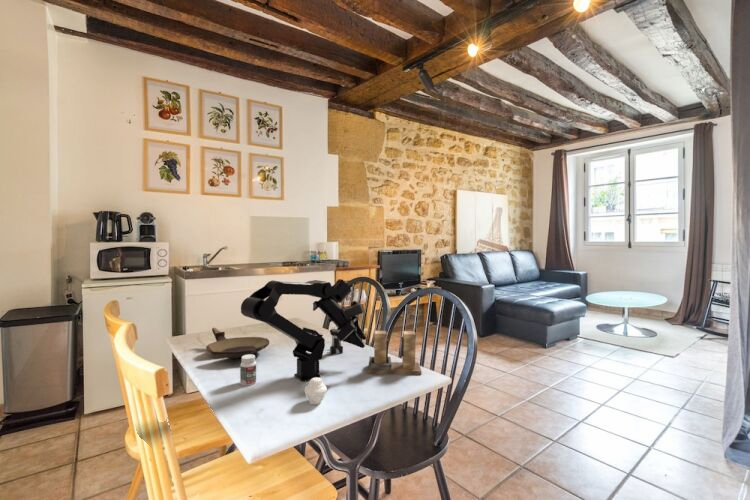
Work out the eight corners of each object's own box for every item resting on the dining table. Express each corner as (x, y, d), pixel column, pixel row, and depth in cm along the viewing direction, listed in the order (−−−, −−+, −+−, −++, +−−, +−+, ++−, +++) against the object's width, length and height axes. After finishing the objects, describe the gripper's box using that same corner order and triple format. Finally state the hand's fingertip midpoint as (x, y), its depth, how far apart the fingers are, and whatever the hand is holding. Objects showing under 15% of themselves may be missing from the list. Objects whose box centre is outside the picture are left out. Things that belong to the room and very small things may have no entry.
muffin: (327, 397, 102) (328, 373, 102) (325, 407, 96) (325, 382, 96) (306, 396, 102) (306, 373, 102) (302, 407, 96) (302, 381, 96)
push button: (328, 356, 136) (329, 330, 136) (324, 352, 141) (324, 327, 141) (344, 354, 139) (345, 328, 139) (340, 349, 144) (340, 325, 144)
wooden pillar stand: (368, 373, 120) (369, 335, 119) (368, 365, 128) (369, 329, 127) (421, 374, 120) (422, 336, 119) (418, 365, 128) (419, 329, 127)
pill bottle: (248, 387, 108) (248, 360, 108) (236, 384, 110) (236, 357, 110) (259, 381, 112) (259, 355, 112) (248, 378, 114) (248, 353, 114)
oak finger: (374, 368, 122) (374, 333, 121) (374, 364, 126) (374, 330, 125) (387, 368, 122) (388, 334, 121) (387, 364, 126) (387, 330, 125)
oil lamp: (211, 371, 119) (211, 349, 119) (201, 347, 145) (201, 328, 144) (277, 360, 131) (277, 339, 131) (256, 339, 157) (257, 322, 156)
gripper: (347, 299, 113) (381, 334, 114) (352, 290, 132) (381, 320, 132) (322, 323, 114) (356, 358, 114) (331, 311, 132) (359, 340, 133)
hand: (364, 342), depth 123 cm, fingers open, 9 cm apart
